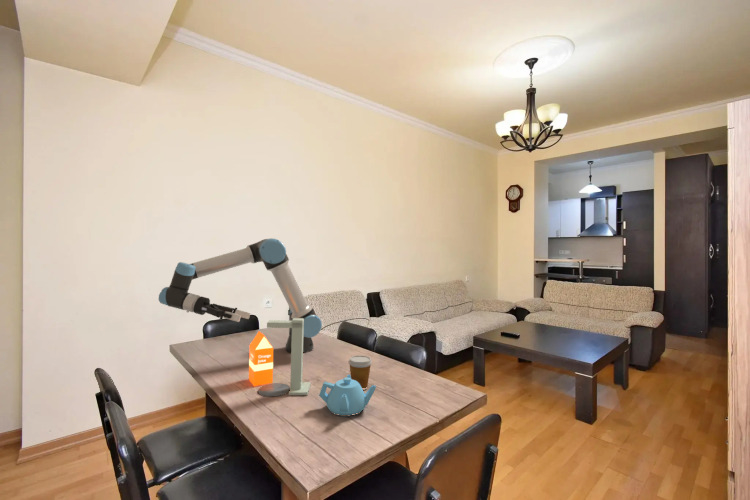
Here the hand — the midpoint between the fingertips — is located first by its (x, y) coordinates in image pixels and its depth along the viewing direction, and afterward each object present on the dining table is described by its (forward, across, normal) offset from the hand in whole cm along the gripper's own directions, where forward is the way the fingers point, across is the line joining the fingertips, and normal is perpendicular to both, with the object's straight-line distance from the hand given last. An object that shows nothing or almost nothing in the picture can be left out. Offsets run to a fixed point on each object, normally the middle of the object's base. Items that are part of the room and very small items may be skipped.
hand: (244, 317), depth 152 cm
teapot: (+52, +30, -17) cm, 62 cm away
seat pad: (+23, +14, -22) cm, 35 cm away
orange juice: (+16, +5, -23) cm, 28 cm away
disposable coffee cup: (+56, +12, -13) cm, 58 cm away
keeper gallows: (+28, +14, -20) cm, 38 cm away
